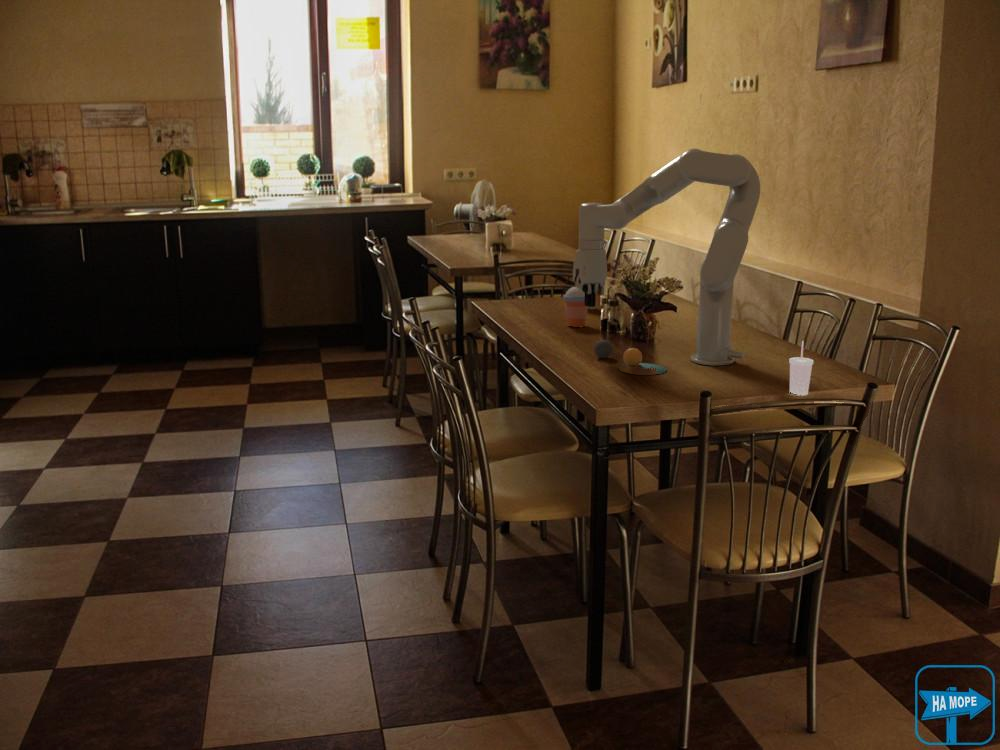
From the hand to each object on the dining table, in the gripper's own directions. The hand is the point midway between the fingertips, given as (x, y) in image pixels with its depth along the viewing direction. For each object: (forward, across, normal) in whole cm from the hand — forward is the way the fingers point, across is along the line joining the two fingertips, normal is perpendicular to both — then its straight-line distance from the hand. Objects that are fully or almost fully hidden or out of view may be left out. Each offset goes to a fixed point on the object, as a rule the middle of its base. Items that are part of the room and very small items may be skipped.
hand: (589, 306), depth 293 cm
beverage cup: (+15, -18, +64) cm, 69 cm away
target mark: (+15, -1, +23) cm, 27 cm away
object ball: (+12, -1, +19) cm, 22 cm away
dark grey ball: (+12, -1, +6) cm, 14 cm away
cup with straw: (+15, -24, -36) cm, 46 cm away
